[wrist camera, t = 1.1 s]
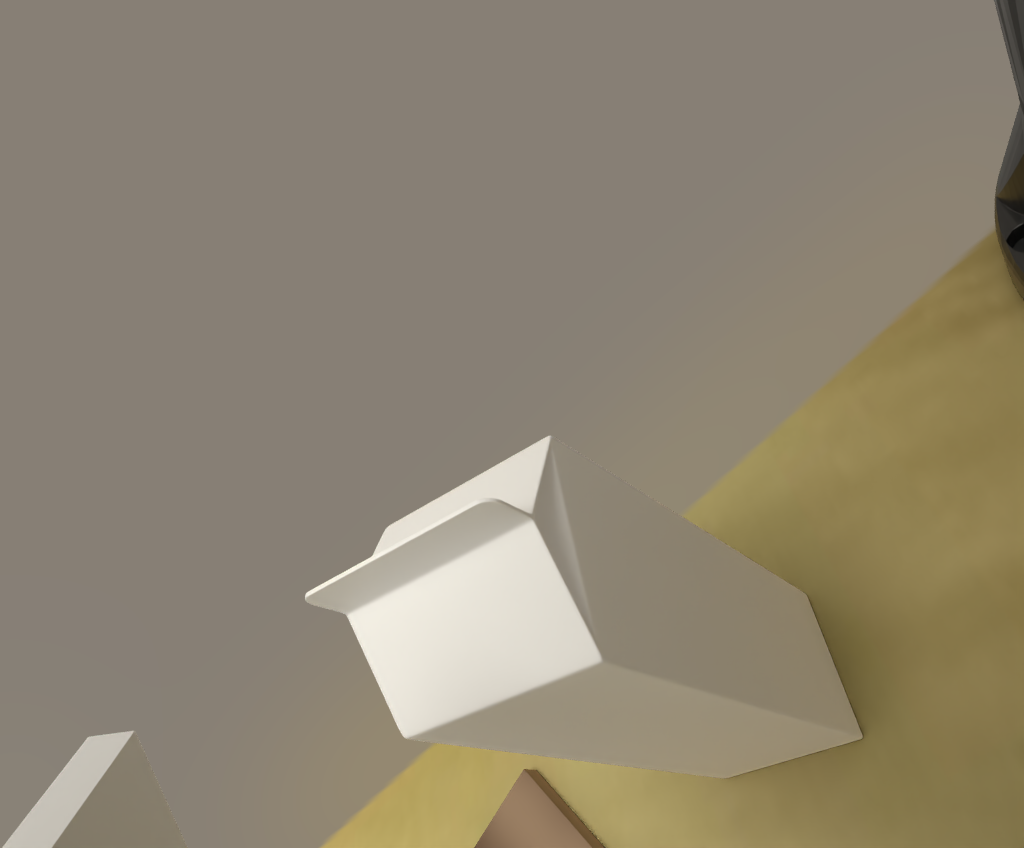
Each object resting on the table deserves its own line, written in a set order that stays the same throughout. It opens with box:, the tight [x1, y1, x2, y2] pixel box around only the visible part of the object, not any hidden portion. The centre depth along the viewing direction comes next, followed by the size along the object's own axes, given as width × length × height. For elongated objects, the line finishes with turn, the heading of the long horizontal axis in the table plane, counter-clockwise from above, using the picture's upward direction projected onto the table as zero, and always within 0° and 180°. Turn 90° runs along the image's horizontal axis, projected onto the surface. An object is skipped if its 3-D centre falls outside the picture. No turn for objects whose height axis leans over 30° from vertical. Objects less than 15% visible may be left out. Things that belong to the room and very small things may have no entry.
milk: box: [305, 436, 863, 779], centre depth 25 cm, size 6×6×22 cm
